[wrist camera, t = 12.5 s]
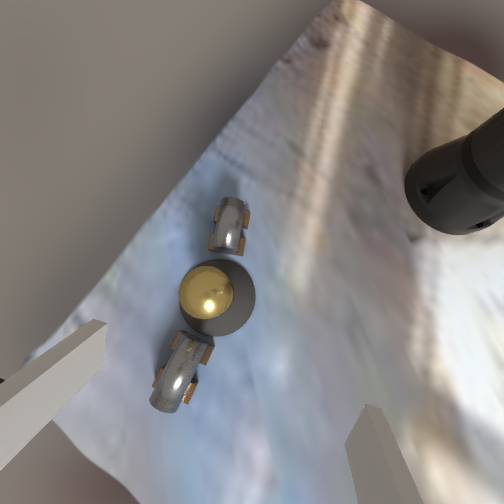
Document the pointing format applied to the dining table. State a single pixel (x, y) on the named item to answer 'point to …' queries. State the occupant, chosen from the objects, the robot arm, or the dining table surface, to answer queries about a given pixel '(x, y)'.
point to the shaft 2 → (229, 227)
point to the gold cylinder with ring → (206, 293)
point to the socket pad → (238, 310)
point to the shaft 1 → (179, 372)
